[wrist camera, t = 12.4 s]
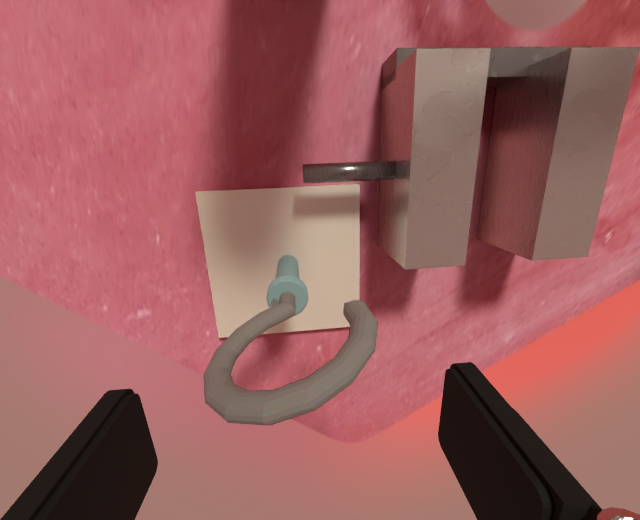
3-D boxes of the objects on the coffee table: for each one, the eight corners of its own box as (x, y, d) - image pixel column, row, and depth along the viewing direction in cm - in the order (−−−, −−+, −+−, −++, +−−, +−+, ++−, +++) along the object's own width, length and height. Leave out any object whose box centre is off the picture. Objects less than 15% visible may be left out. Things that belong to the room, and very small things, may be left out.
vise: (551, 62, 22) (645, 25, 16) (521, 236, 26) (587, 256, 20) (295, 65, 20) (298, 25, 14) (305, 250, 24) (310, 276, 18)
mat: (358, 184, 23) (359, 184, 22) (357, 322, 27) (359, 325, 26) (197, 191, 22) (195, 192, 21) (220, 334, 26) (218, 337, 25)
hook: (329, 232, 23) (398, 341, 9) (339, 261, 24) (415, 403, 10) (235, 266, 23) (155, 427, 9) (248, 294, 24) (193, 481, 10)
